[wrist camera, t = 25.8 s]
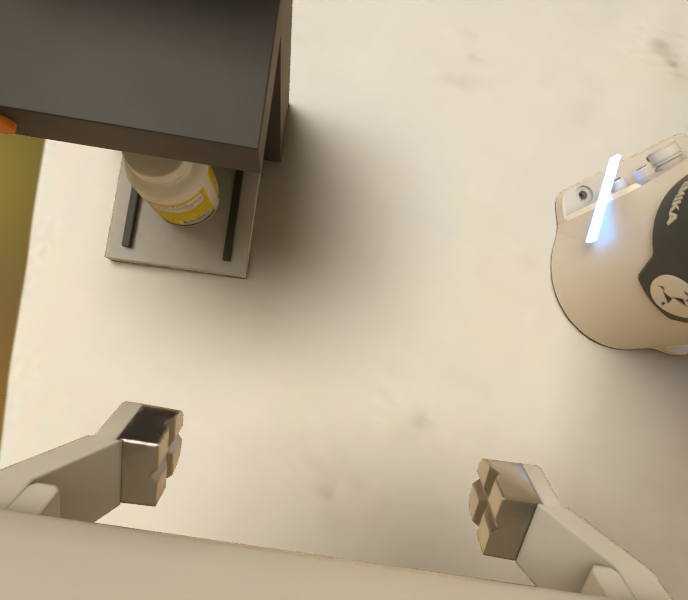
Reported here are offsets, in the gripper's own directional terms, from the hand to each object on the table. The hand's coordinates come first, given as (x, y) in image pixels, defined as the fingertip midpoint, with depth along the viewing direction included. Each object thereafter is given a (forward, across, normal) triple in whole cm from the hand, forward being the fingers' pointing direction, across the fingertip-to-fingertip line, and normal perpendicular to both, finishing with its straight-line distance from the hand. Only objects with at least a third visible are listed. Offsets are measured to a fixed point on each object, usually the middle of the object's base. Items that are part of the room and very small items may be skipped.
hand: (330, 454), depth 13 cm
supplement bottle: (+29, +13, -1) cm, 32 cm away
